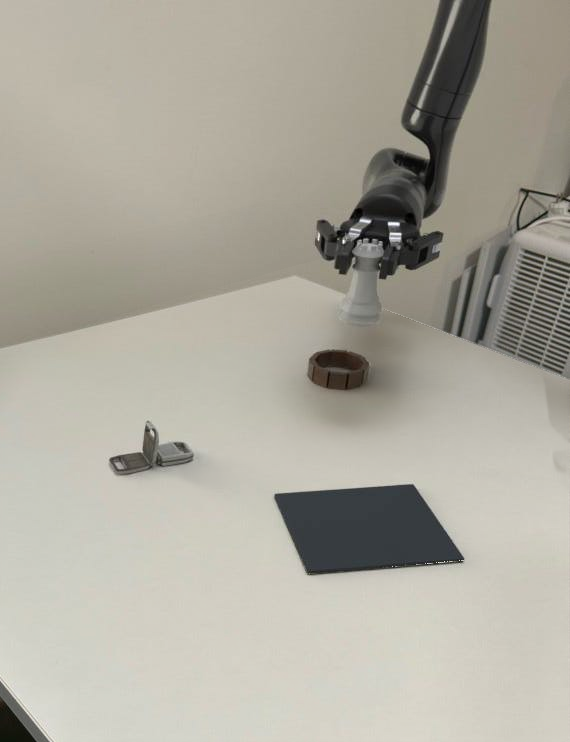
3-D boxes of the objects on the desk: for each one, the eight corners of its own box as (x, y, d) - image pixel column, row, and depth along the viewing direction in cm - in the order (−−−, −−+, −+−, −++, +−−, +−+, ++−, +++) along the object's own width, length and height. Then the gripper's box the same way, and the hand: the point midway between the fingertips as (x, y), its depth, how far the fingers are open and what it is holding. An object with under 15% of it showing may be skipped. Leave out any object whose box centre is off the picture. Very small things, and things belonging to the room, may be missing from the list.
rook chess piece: (363, 331, 84) (374, 252, 79) (328, 319, 87) (338, 242, 82) (389, 320, 87) (402, 242, 82) (354, 308, 89) (365, 232, 84)
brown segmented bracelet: (355, 362, 104) (357, 347, 103) (374, 388, 99) (376, 372, 97) (301, 365, 104) (303, 350, 102) (317, 391, 98) (319, 375, 97)
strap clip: (184, 447, 87) (185, 411, 85) (195, 461, 85) (196, 424, 82) (107, 461, 85) (106, 425, 82) (116, 476, 83) (115, 439, 80)
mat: (412, 487, 81) (413, 483, 81) (463, 562, 72) (464, 558, 72) (274, 496, 80) (274, 493, 80) (307, 574, 70) (308, 571, 70)
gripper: (329, 178, 93) (296, 220, 80) (458, 189, 89) (446, 235, 76) (321, 245, 98) (289, 295, 85) (444, 258, 94) (430, 313, 81)
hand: (363, 266), depth 81 cm, fingers closed on rook chess piece, 3 cm apart
